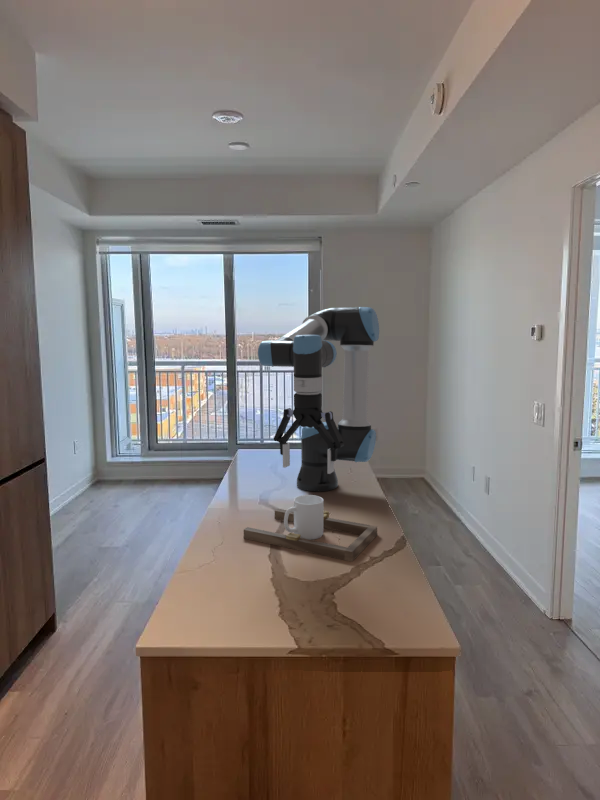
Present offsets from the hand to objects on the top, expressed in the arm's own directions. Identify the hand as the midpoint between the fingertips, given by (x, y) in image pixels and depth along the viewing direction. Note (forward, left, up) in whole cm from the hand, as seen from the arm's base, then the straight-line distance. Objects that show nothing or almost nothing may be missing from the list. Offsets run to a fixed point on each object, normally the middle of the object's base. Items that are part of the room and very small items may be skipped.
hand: (308, 469), depth 143 cm
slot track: (-1, +1, -19) cm, 19 cm away
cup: (+1, -1, -19) cm, 19 cm away
